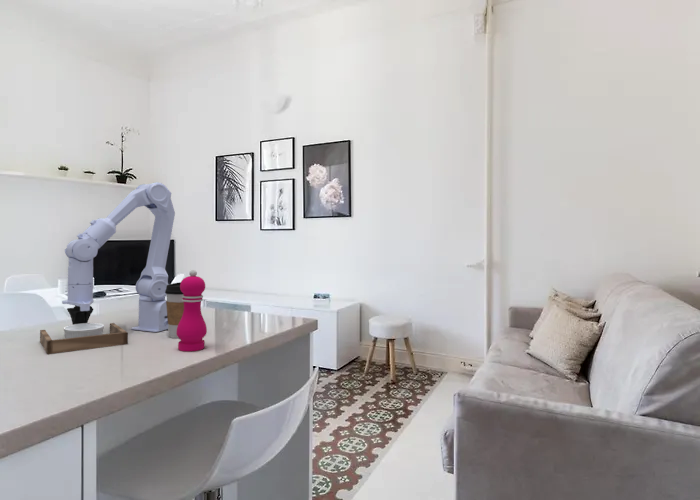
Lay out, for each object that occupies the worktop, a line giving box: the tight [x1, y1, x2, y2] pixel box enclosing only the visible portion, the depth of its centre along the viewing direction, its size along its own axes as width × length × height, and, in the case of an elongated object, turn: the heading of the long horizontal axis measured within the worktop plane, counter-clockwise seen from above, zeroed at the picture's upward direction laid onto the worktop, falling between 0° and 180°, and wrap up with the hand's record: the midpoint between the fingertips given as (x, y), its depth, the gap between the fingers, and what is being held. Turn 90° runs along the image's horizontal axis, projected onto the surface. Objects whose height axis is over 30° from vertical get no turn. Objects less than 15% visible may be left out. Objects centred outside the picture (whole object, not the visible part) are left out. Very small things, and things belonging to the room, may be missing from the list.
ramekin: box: [63, 322, 105, 339], centre depth 108 cm, size 9×9×4 cm
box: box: [39, 322, 129, 355], centre depth 108 cm, size 15×17×3 cm
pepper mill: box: [176, 269, 208, 352], centre depth 106 cm, size 7×7×20 cm
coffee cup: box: [165, 281, 184, 339], centre depth 119 cm, size 8×8×15 cm
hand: (79, 334), depth 113 cm, fingers closed
